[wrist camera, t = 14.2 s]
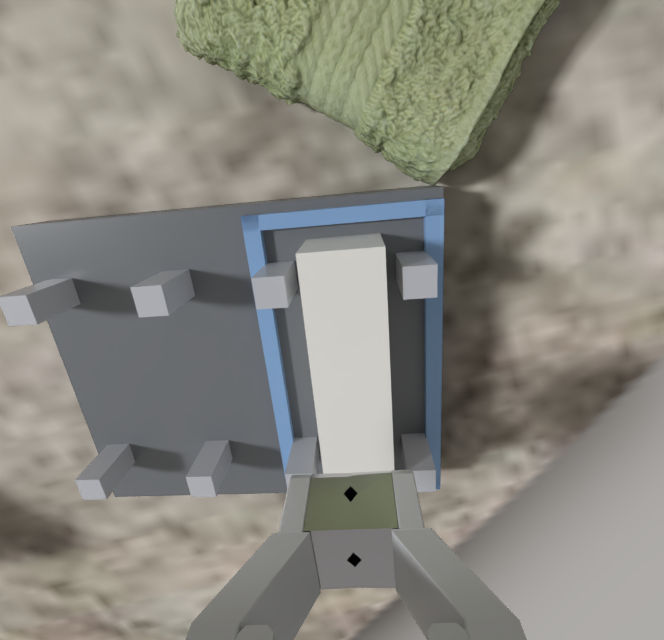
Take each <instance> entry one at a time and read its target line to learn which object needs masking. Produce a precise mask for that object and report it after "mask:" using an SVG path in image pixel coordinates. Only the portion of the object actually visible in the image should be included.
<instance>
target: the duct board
mask: <svg viewBox="0 0 664 640" xmlns="http://www.w3.org/2000/svg"><path fill="white" fill-rule="evenodd" d="M443 197H444V187H442V186H436V185H430V186H420V187H409V188H398V189H387V190H377V191H366V192H355V193H344V194H334V195H323V196H312V197H301V198H291V199H280V200H269V201H258V202H248V203H237V204H226V205H215V206H205V207H194V208H183V209H172V210H162V211H151V212H140V213H129V214H119V215H108V216H97V217H86V218H75V219H65V220H54V221H45V222H38V223H32V224H25V225H19V226H12V227H11V228H12V231H13V233H14V236H15V238H16V241H17V244H18V246H19V249H20V251H21V254H22V257H23V259H24V262H25V264H26V267H27V270H28V272H29V275H30V277H31V280H32V283H33V285H31V286H28V287H25V288H23V289H20V290H17V291H14V292H11V293H8V294H5V295H2V296H0V306H1V308H2V310H3V313H4V315H5V318H6V320H7V322H8V325H9V326H21V325H35V324H39V323H41V322H43V321H46V320H47V321H48V324H49V327H50V329H51V332H52V334H53V337H54V340H55V342H56V345H57V347H58V350H59V353H60V355H61V358H62V360H63V363H64V366H65V368H66V371H67V373H68V376H69V378H70V381H71V384H72V386H73V389H74V391H75V394H76V397H77V399H78V402H79V404H80V407H81V410H82V412H83V415H84V417H85V420H86V423H87V425H88V428H89V430H90V433H91V436H92V438H93V441H94V443H95V446H96V449H97V451H98V456H97V457H96V458H95V459H94V460H93V461H92V462H91V463H90V464H89V465H88V466H87V468H86V469H85V470H84V471H83V472H82V473H81V474H80V475H79V476H78V477H77V478H76V480H75V482H76V484H77V486H78V489H79V491H80V493H81V496H82V498H83V500H94V499H107V498H108V497H109V496H110V494H111V493H112V492H113V493H114V495H115V497H127V496H170V495H191V497H216V496H217V494H255V493H287V489H288V484H289V479H290V478H291V476H292V475H306V474H323V468H322V460H321V452H320V444H319V436H318V428H317V420H316V412H315V404H314V396H313V388H312V381H311V373H310V365H309V357H308V349H307V341H306V333H305V325H304V317H303V309H302V301H301V293H300V285H299V278H298V270H297V262H296V252H297V251H298V250H299V248H300V247H301V246H302V244H303V243H304V242H305V240H306V239H316V238H328V237H340V236H351V235H363V234H375V233H380V234H381V237H382V239H383V242H384V244H385V250H386V274H387V299H388V323H389V348H390V372H391V397H392V421H393V446H394V470H407V469H412V471H413V472H414V477H415V482H416V487H417V492H436V489H440V469H441V400H442V331H443V262H444V198H443Z"/></svg>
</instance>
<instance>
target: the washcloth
mask: <svg viewBox="0 0 664 640" xmlns="http://www.w3.org/2000/svg"><path fill="white" fill-rule="evenodd" d="M559 5H560V0H176V4H175V10H174V15H175V16H176V22H177V24H178V28H179V30H178V31H177V34H176V36H177V37H179V38H180V41H181V44H182V45H183V46H184V50H185V51H186V52H187V51H188V52H189V53H191V54H192V55H193V56H197V58H198V60H201V58H202V57H204V59H205V61H206V62H207V63H210V64H212V65H215V64H217V65H219V66H220V67H222V68H224V70H231V71H233V72H234V74H235V75H236V76H237V77H238V78H239V79H241V80H244V79H247V80H248V82H250V83H253V84H257V83H258V84H260V85H261V86H264V87H265V88H266V89H267V90H268V91H269V92H270V93H271V94H272V95H273V96H274V97H275V98H277V99H278V100H281V99H285V100H286V102H287V105H288V106H289V105H290V104H293V103H298V102H302V103H305V104H307V105H309V106H310V107H312V108H313V109H314V110H316V111H318V112H320V113H323V114H325V115H326V116H327V117H329V118H331V119H333V120H335V121H338V122H341V123H342V124H343V125H345V126H347V127H349V128H351V129H352V130H353V131H354V133H355V136H356V137H357V138H358V139H359V140H361V141H362V142H364V144H365V145H367V146H368V147H371V148H372V149H373V150H374V151H375V153H378V152H381V153H382V156H383V157H384V158H385V160H387V161H390V162H391V163H394V164H395V166H396V167H397V168H398V169H400V170H401V171H402V172H403V173H404V174H405V175H408V176H410V177H412V178H413V179H414V180H416V181H422V182H425V183H428V184H430V185H436V183H437V182H438V180H439V179H440V178H441V177H442V176H443V175H444V173H445V172H446V171H452V170H454V169H456V168H457V166H459V165H462V164H464V163H465V162H466V161H468V160H471V159H472V158H474V156H475V155H476V153H477V152H478V150H479V148H480V146H481V143H482V140H483V135H485V133H486V129H487V127H489V126H491V124H492V120H494V119H497V118H498V112H499V109H500V108H501V107H502V106H503V103H504V101H505V99H506V98H507V97H508V94H509V93H511V92H512V90H513V86H514V83H515V79H516V78H517V77H518V76H520V74H521V65H522V62H523V60H524V58H525V57H529V56H531V49H532V46H533V44H534V42H535V40H536V37H537V36H538V34H539V32H540V30H542V28H543V27H544V25H545V24H546V23H547V18H548V17H549V16H550V15H551V14H552V13H553V12H554V10H555V9H556V8H557V7H558V6H559Z"/></svg>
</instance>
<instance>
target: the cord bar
mask: <svg viewBox="0 0 664 640" xmlns="http://www.w3.org/2000/svg"><path fill="white" fill-rule="evenodd" d="M296 262H297V270H298V278H299V285H300V293H301V301H302V309H303V317H304V325H305V333H306V341H307V349H308V357H309V365H310V373H311V381H312V388H313V396H314V404H315V412H316V420H317V428H318V436H319V444H320V452H321V460H322V468H323V474H331V473H356V472H374V471H392V470H394V446H393V421H392V397H391V372H390V348H389V323H388V299H387V274H386V250H385V244H384V242H383V239H382V237H381V234H380V233H375V234H363V235H351V236H340V237H328V238H316V239H306V240H305V242H304V243H303V244H302V246H301V247H300V248H299V250H298V251H297V252H296Z"/></svg>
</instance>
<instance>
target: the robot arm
mask: <svg viewBox="0 0 664 640" xmlns="http://www.w3.org/2000/svg"><path fill="white" fill-rule="evenodd" d="M339 588H396V591H397V593H398V594H399V596H400V598H401V599H402V601H403V602H404V604H405V605H406V607H407V608H408V610H409V612H410V613H411V615H412V616H413V618H414V619H415V621H416V623H417V624H418V626H419V627H420V629H421V631H422V632H423V634H424V635H425V637H426V639H427V640H526V637H525V634H524V631H523V629H522V626H521V623H520V620H519V619H518V618H517V617H516V616H515V615H514V614H513V613H512V612H511V611H510V610H509V609H508V608H507V607H506V606H505V605H504V604H503V603H502V602H501V600H500V599H499V598H498V597H497V596H496V595H495V594H494V593H493V592H492V591H491V590H490V589H489V588H488V587H487V586H486V585H485V584H484V583H483V582H482V581H481V580H480V578H479V577H478V576H477V575H476V574H475V573H474V572H473V571H472V570H471V569H470V568H469V567H468V566H467V565H466V564H465V563H464V562H463V561H462V560H461V559H460V558H459V557H458V555H457V554H456V553H455V552H454V551H453V550H452V549H451V548H450V547H449V546H448V545H447V544H446V543H445V542H444V541H443V540H442V539H441V538H440V537H439V536H438V535H437V534H436V532H435V531H434V530H433V529H432V528H425V527H424V522H423V517H422V512H421V507H420V502H419V497H418V492H417V487H416V482H415V477H414V472H413V471H412V469H407V470H392V471H374V472H356V473H331V474H306V475H292V476H291V478H290V479H289V484H288V489H287V494H286V499H285V504H284V509H283V513H282V518H281V523H280V528H279V533H272V534H271V536H270V537H269V538H268V539H267V540H266V541H265V542H264V543H263V544H262V546H261V547H260V548H259V549H258V550H257V551H256V552H255V553H254V554H253V556H252V557H251V558H250V559H249V560H248V561H247V562H246V563H245V564H244V566H243V567H242V568H241V569H240V570H239V571H238V572H237V573H236V574H235V576H234V577H233V578H232V579H231V580H230V581H229V582H228V583H227V584H226V586H225V587H224V588H223V589H222V590H221V591H220V592H219V593H218V594H217V596H216V597H215V598H214V599H213V600H212V601H211V602H210V603H209V604H208V606H207V607H206V608H205V609H204V610H203V611H202V612H201V613H200V614H199V616H198V617H197V618H196V619H195V620H194V621H193V622H192V624H191V626H190V629H189V632H188V635H187V638H186V640H293V639H294V638H295V636H296V634H297V632H298V631H299V629H300V627H301V626H302V624H303V622H304V620H305V619H306V617H307V615H308V613H309V612H310V610H311V608H312V606H313V605H314V603H315V601H316V599H317V598H318V596H319V594H320V592H321V591H320V589H339Z"/></svg>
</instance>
